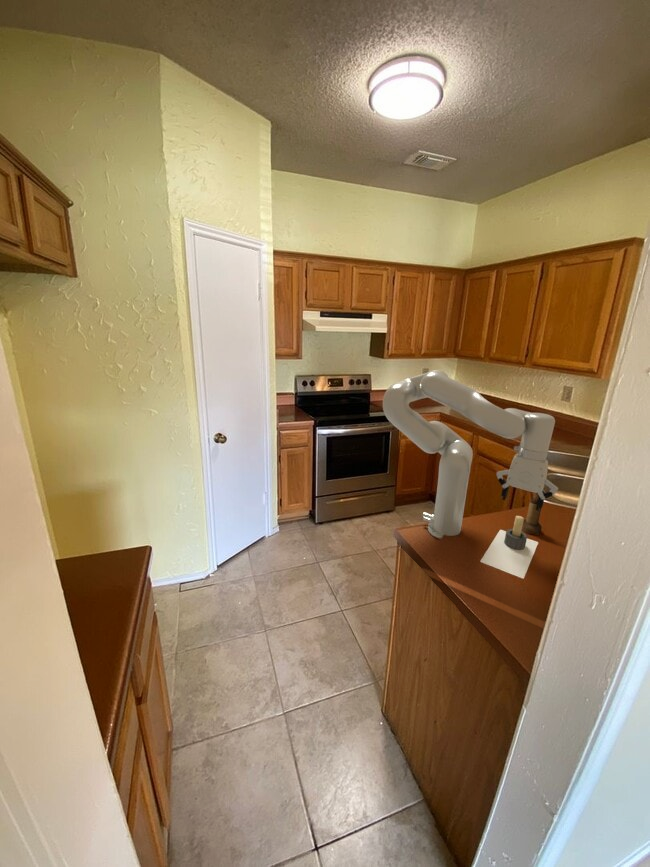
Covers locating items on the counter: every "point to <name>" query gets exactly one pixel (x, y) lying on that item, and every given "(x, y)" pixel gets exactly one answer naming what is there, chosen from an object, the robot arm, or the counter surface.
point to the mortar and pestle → (532, 518)
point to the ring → (515, 540)
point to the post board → (510, 552)
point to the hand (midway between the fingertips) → (520, 503)
